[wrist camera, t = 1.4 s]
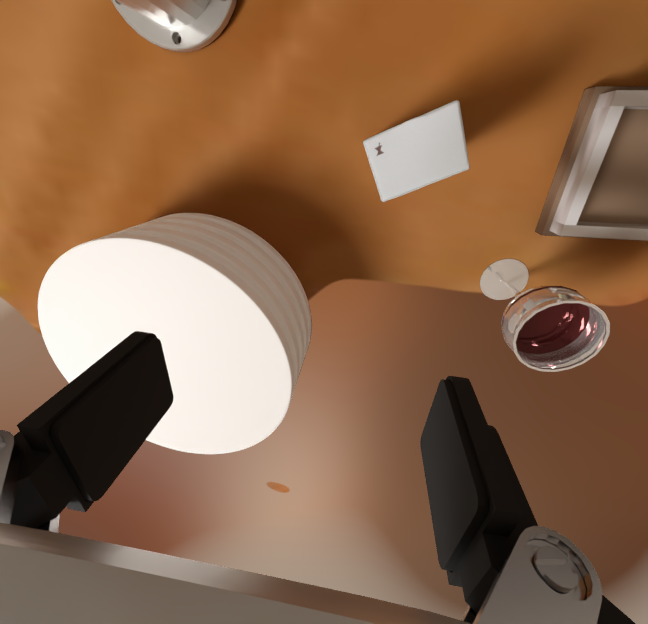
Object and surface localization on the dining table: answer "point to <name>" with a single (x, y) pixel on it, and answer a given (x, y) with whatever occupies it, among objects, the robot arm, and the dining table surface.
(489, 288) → the wineglass
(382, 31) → the dining table surface
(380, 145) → the skincare box
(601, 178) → the square tray
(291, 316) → the plate stack
